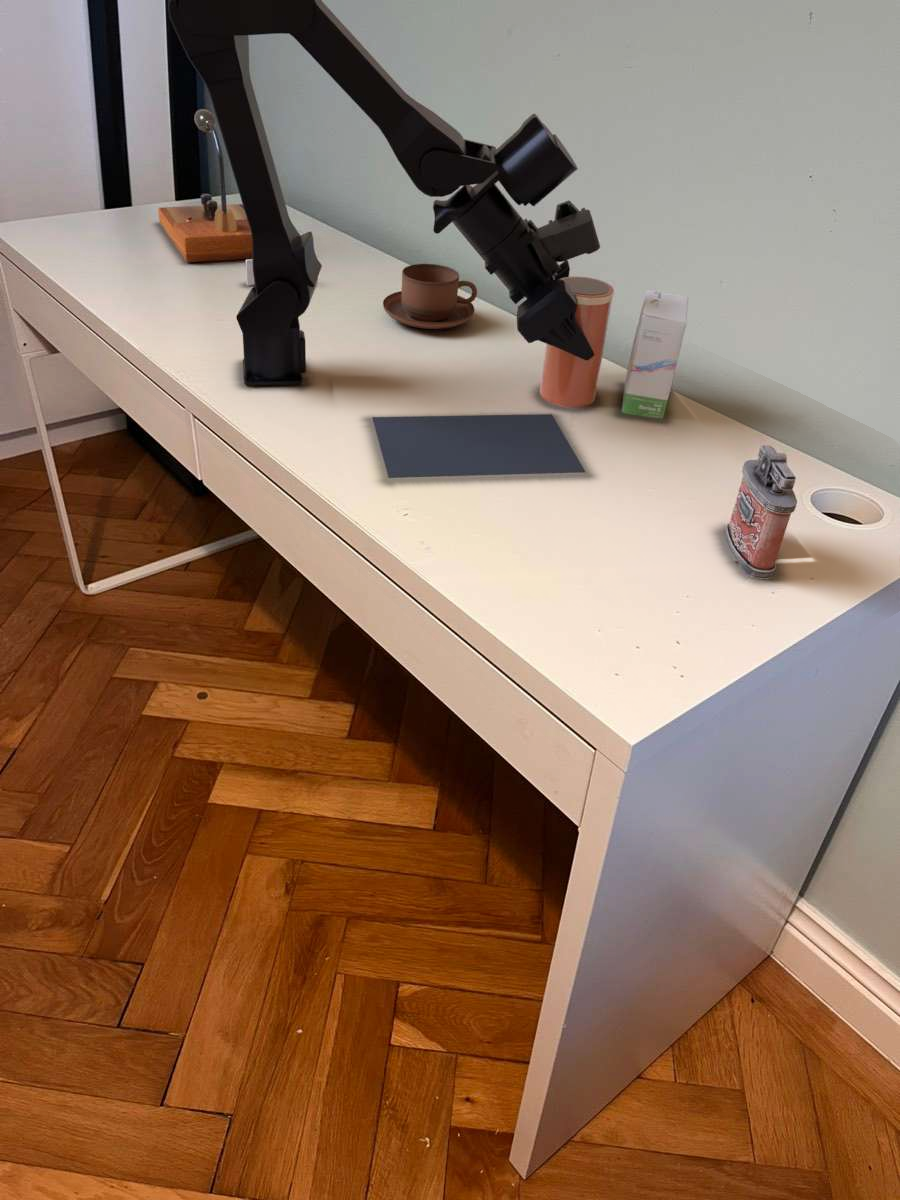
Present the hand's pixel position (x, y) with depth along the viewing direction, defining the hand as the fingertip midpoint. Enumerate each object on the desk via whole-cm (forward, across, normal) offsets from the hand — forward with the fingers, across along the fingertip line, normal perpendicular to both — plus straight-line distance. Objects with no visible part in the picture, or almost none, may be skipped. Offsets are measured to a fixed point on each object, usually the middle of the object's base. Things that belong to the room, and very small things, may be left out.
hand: (587, 344), depth 111 cm
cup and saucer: (-8, +21, +18) cm, 29 cm away
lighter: (+14, -31, -4) cm, 34 cm away
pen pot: (+4, 0, +6) cm, 7 cm away
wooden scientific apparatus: (-30, +42, +40) cm, 65 cm away
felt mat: (-4, -14, +13) cm, 19 cm away
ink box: (+10, 0, -1) cm, 10 cm away
